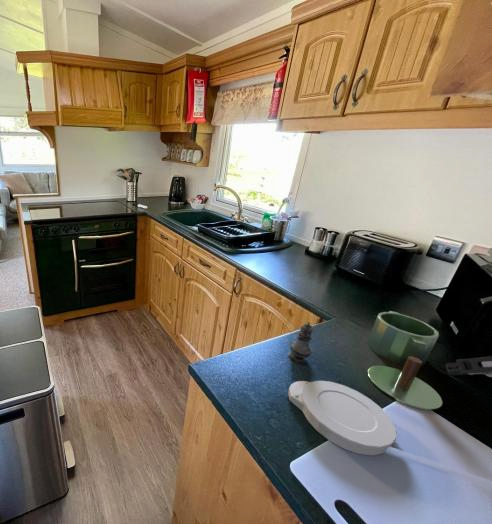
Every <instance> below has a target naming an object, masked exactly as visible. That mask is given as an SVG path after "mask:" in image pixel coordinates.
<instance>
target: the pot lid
mask: <svg viewBox="0 0 492 524" xmlns="http://www.w3.org/2000/svg"><path fill="white" fill-rule="evenodd" d="M421 364H422V361H421V360H420V359H418V358H416V357H412V356H409V357H408V359H407V361H406V363H405V365H403V368H402V369H398V368H394V367H390V366H386V365H373V366H370V367H369V368H368V370H367V377H368V379H369V381H370V382H371V383H372V384H373V385H374V387H376V389H378V390H379V391H380V392H382V393H384V394H385V395H387V397H390V398H391V399H393V400H395V401H396V402H399V403H402V404H403V405H405V406H409V407H412V408H415V409H418V410H423V411H436V410H439V409H441V407H442V406H443V400H442V399H443V398H442V397H441V395H440V394H439V393H438V392H437V391H436V389H434V388H433V387H432V386H430V385H429V383H426V382H425V381H423V380H422V379H420V378H418V377H416V376H417V374H418V372H419V370H420V369H421V367H422V366H421ZM420 366H421V367H420Z"/></svg>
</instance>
